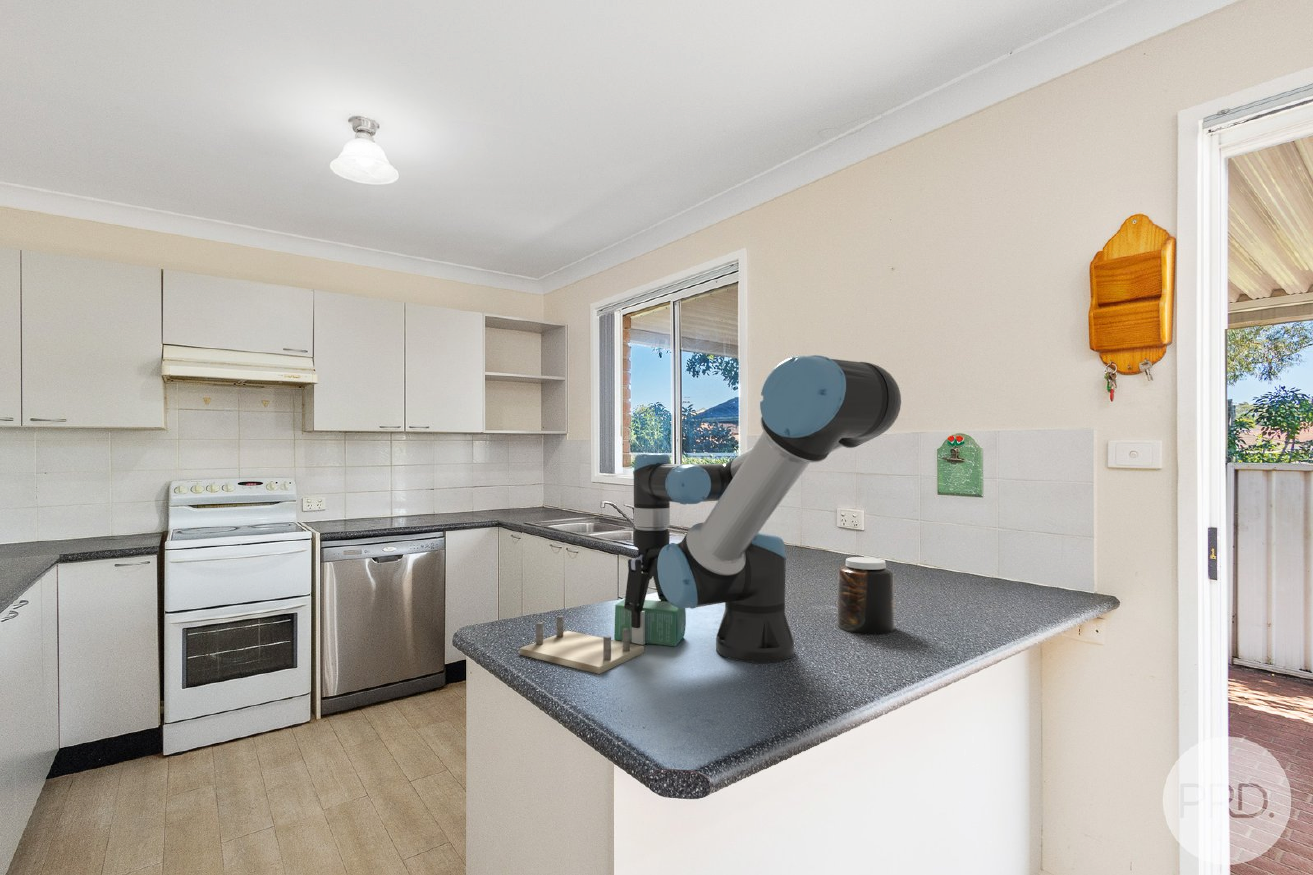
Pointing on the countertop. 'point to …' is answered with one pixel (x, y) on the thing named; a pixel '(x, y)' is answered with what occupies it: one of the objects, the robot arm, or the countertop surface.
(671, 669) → the countertop surface
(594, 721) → the countertop surface
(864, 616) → the jar
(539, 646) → the tray
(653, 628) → the box
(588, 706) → the countertop surface
